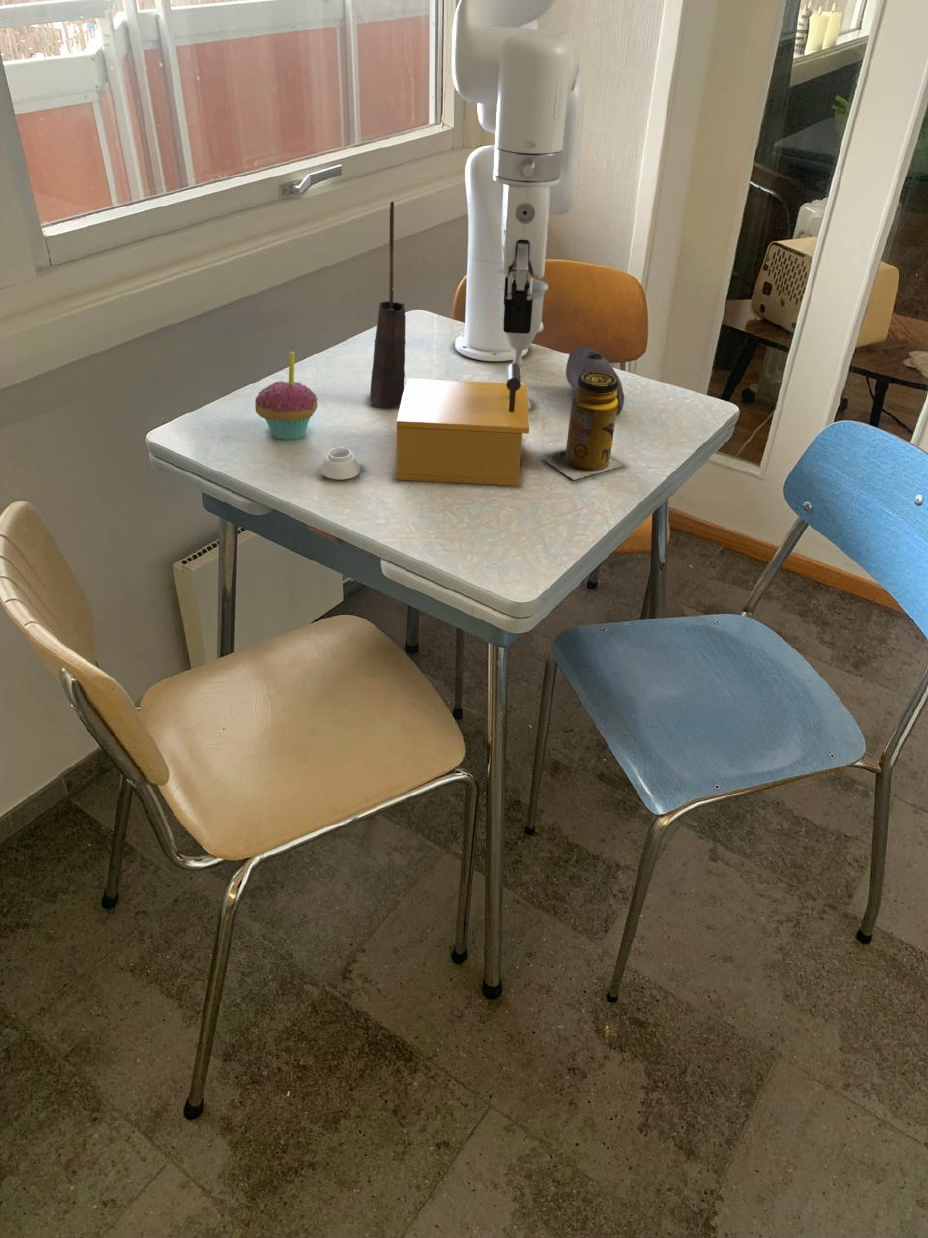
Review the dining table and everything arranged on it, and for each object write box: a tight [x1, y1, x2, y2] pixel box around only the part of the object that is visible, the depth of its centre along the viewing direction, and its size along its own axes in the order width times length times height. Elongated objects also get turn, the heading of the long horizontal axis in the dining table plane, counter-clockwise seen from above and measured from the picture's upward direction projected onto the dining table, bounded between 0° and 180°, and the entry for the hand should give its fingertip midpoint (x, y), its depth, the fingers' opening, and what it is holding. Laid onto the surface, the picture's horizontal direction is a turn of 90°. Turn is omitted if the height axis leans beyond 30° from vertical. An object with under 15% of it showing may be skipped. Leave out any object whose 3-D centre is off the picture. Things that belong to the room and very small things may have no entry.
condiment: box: [540, 372, 623, 481], centre depth 122 cm, size 7×8×12 cm
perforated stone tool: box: [565, 346, 625, 417], centre depth 139 cm, size 15×5×7 cm, turn 18°
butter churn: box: [369, 201, 406, 409], centre depth 130 cm, size 9×10×28 cm
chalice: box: [500, 277, 549, 410], centre depth 134 cm, size 7×7×18 cm
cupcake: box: [254, 345, 318, 441], centre depth 125 cm, size 9×8×12 cm
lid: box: [396, 362, 530, 434], centre depth 119 cm, size 17×14×5 cm
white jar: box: [320, 447, 361, 481], centre depth 119 cm, size 5×3×5 cm
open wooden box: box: [396, 426, 523, 487], centre depth 123 cm, size 16×14×7 cm
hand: (516, 318), depth 113 cm, fingers open, 9 cm apart
